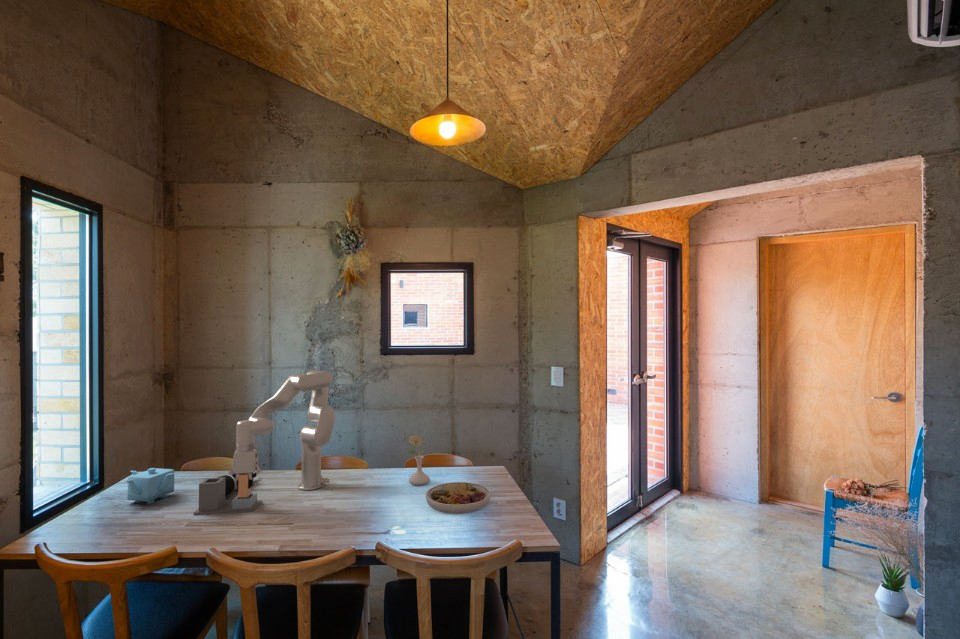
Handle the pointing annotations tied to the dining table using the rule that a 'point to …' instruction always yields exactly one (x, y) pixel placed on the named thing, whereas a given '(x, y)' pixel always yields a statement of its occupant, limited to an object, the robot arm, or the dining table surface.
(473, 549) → the dining table surface
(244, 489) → the peg
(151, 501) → the teakettle
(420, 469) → the flower in vase
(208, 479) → the socket stand
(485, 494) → the bowl
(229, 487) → the cable
